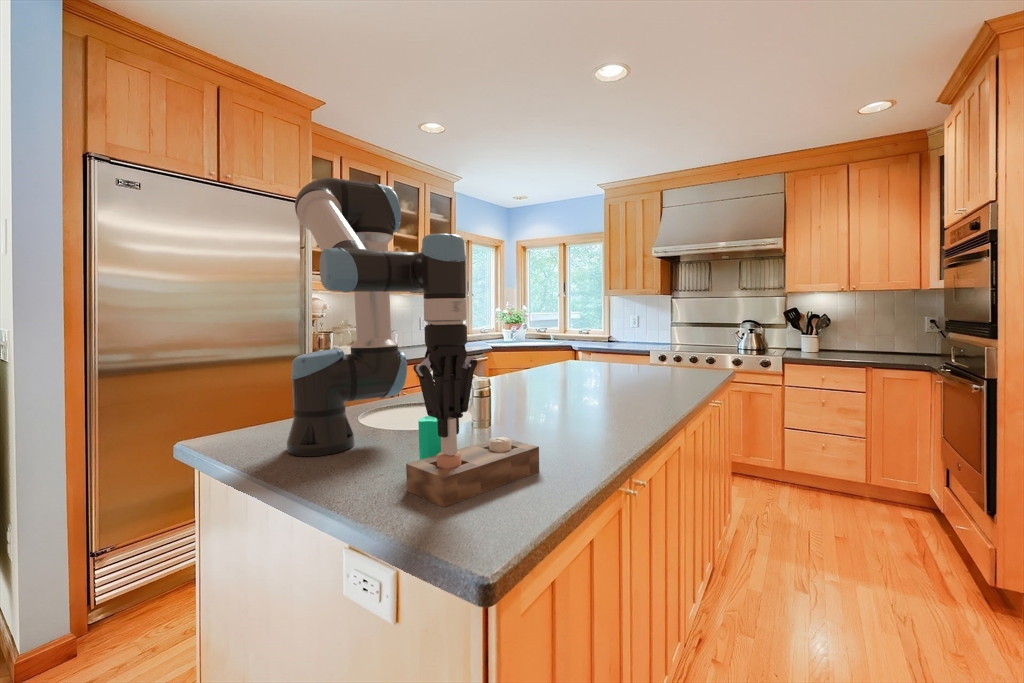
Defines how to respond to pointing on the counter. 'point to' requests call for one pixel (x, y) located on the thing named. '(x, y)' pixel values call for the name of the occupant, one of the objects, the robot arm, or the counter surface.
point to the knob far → (500, 444)
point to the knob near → (448, 460)
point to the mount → (471, 472)
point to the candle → (428, 437)
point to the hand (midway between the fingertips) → (449, 453)
